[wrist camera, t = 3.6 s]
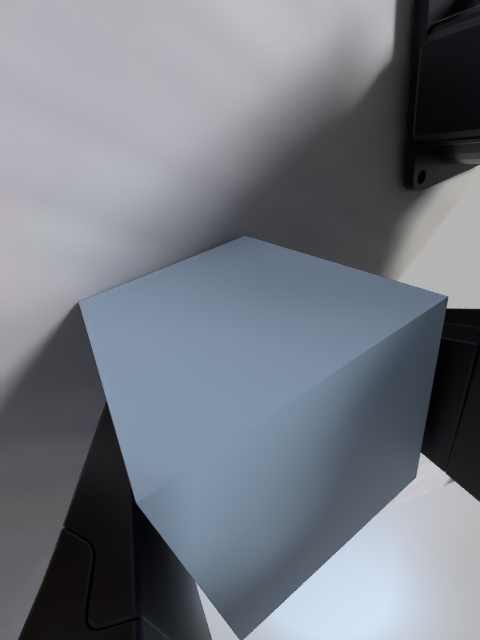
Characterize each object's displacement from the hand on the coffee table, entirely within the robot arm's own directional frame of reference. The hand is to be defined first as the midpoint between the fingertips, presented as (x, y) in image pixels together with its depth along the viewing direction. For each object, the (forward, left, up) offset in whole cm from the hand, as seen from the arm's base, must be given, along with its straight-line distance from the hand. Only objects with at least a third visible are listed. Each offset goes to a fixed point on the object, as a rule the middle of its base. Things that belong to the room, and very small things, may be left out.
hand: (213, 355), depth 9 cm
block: (0, 0, -1) cm, 1 cm away
